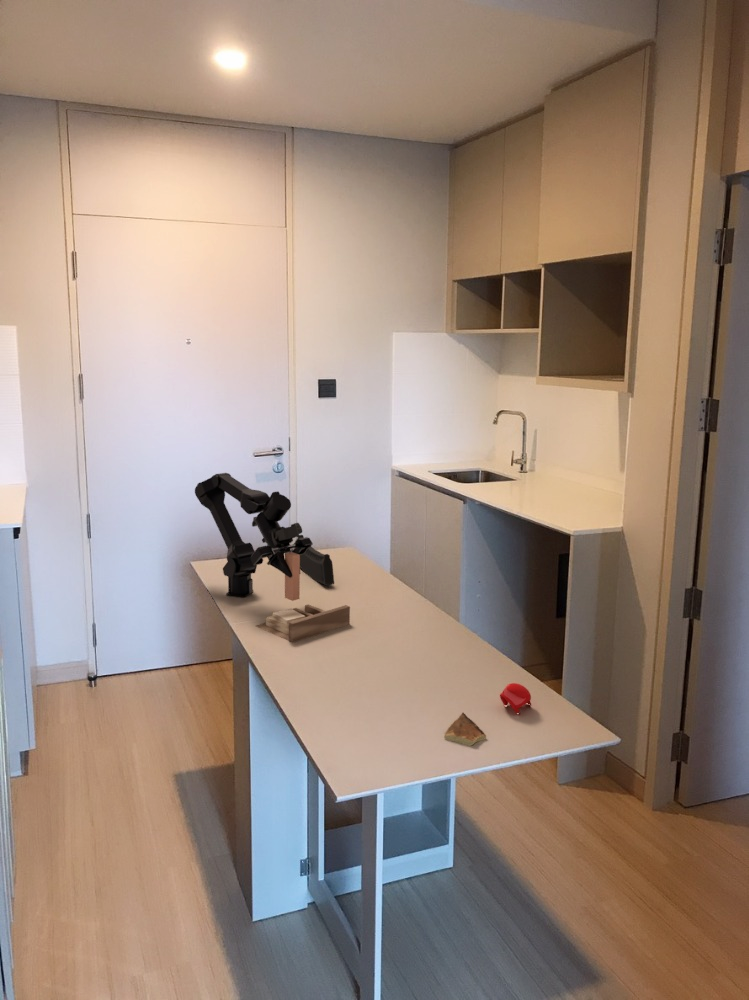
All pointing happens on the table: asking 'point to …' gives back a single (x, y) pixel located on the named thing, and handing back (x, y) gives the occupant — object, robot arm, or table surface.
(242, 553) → the robot arm
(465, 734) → the shard
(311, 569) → the magazine
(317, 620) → the rack
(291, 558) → the block
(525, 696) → the red legged dome
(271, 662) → the table surface
